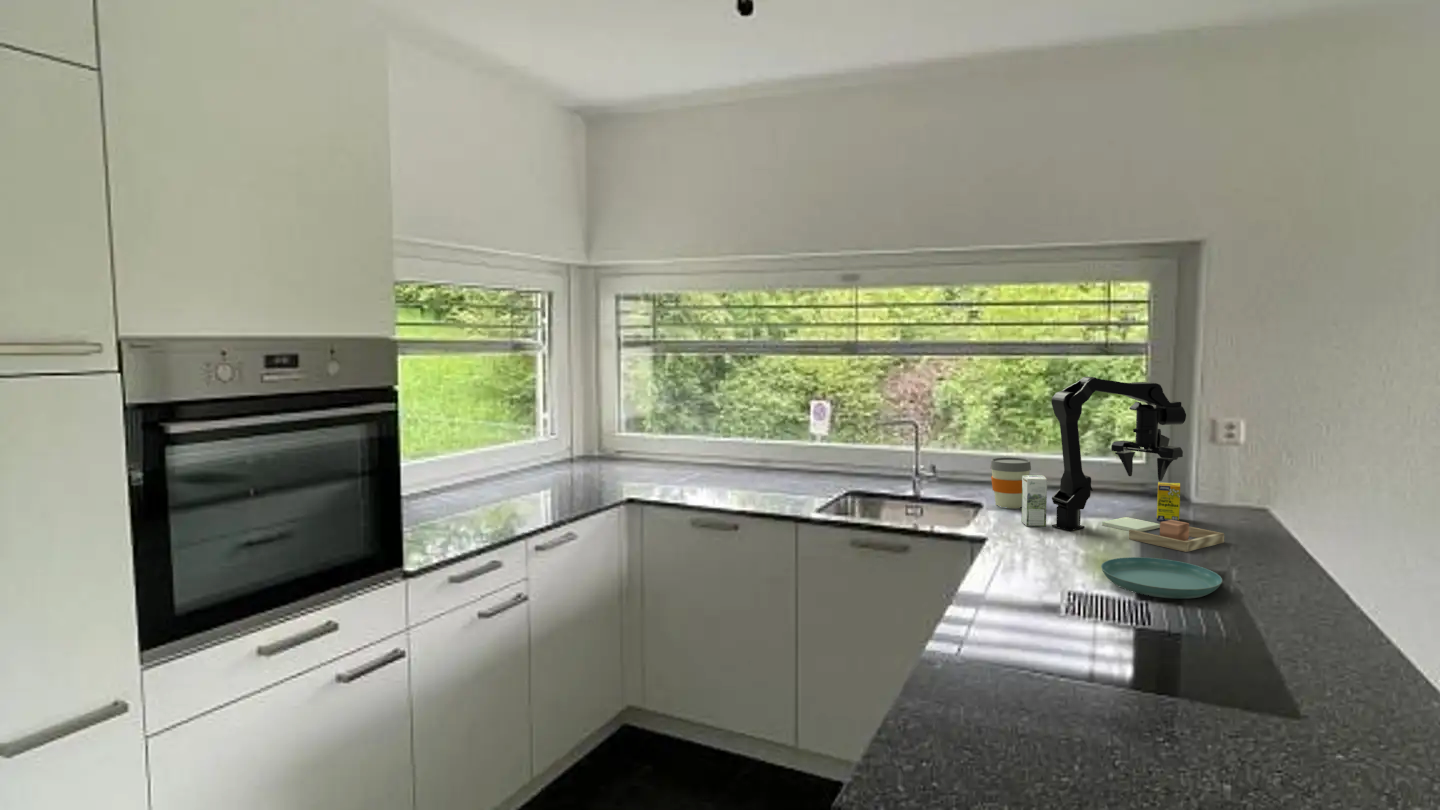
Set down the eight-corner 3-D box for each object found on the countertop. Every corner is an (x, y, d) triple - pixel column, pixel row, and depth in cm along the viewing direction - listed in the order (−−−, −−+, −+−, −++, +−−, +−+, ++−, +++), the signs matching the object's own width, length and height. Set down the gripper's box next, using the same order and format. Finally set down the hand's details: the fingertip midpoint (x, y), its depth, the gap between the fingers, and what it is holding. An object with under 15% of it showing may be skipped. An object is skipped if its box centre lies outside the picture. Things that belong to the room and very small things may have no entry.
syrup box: (1040, 522, 249) (1041, 474, 248) (1046, 527, 243) (1047, 478, 242) (1021, 522, 250) (1021, 474, 248) (1026, 527, 244) (1027, 478, 242)
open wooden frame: (1185, 552, 214) (1186, 542, 214) (1128, 539, 228) (1129, 530, 228) (1223, 542, 222) (1224, 533, 222) (1166, 530, 236) (1166, 521, 236)
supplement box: (1156, 521, 248) (1157, 484, 247) (1156, 517, 253) (1157, 481, 252) (1179, 523, 245) (1180, 486, 244) (1179, 518, 250) (1180, 482, 249)
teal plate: (1156, 608, 173) (1157, 592, 173) (1077, 576, 197) (1078, 562, 196) (1248, 596, 180) (1249, 581, 180) (1162, 566, 203) (1162, 553, 203)
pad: (1136, 532, 234) (1137, 529, 234) (1102, 525, 244) (1102, 521, 244) (1160, 527, 240) (1160, 524, 240) (1125, 520, 249) (1125, 516, 249)
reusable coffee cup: (1033, 510, 265) (1034, 463, 264) (992, 509, 268) (992, 463, 267) (1027, 502, 278) (1027, 457, 276) (987, 501, 280) (988, 457, 279)
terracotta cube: (1177, 544, 222) (1177, 525, 222) (1159, 540, 226) (1160, 522, 226) (1188, 541, 225) (1189, 523, 224) (1170, 537, 229) (1171, 519, 228)
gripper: (1194, 426, 239) (1192, 480, 240) (1133, 420, 254) (1131, 471, 256) (1172, 429, 233) (1170, 484, 234) (1110, 423, 249) (1109, 474, 250)
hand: (1145, 478), depth 244 cm, fingers open, 9 cm apart
